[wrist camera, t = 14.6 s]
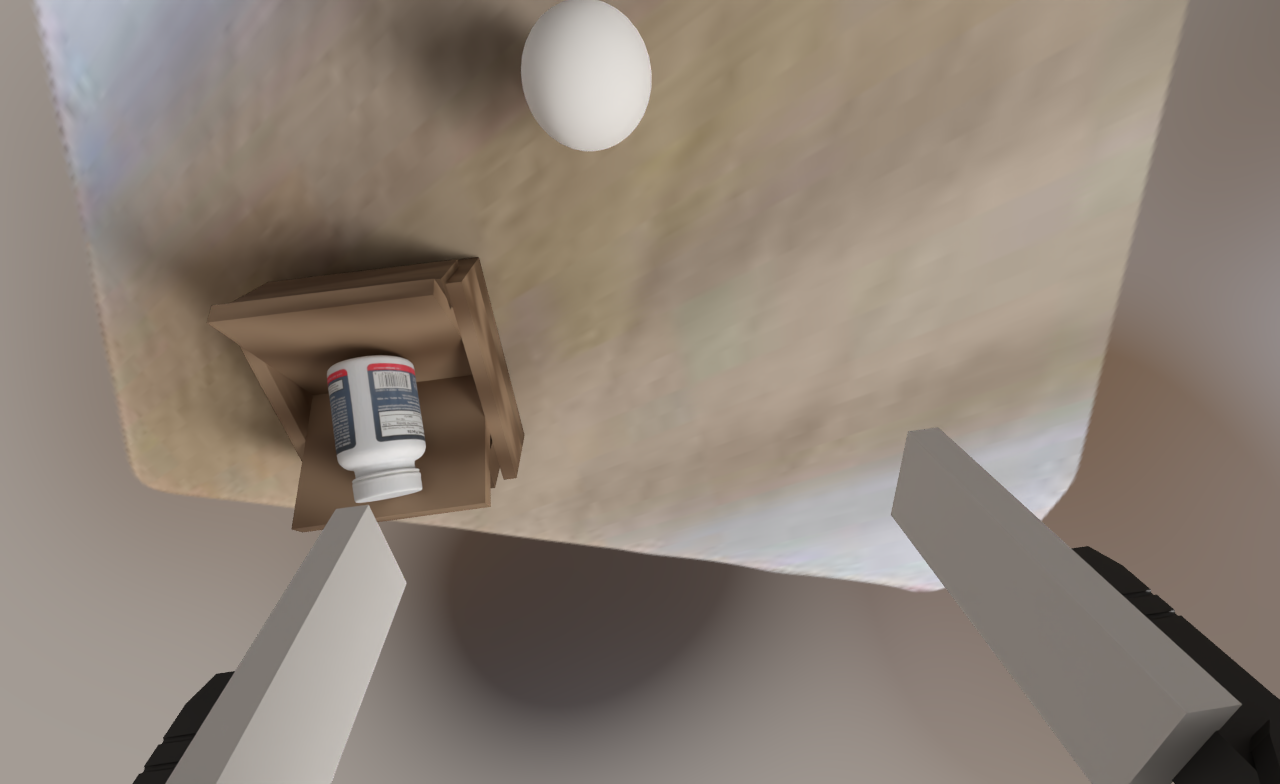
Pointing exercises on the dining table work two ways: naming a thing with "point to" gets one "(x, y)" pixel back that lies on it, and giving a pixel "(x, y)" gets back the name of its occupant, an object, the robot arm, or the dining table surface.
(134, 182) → the dining table surface
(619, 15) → the light bulb
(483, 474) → the wooden box with flaps
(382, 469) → the pill bottle
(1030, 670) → the robot arm
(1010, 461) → the dining table surface
